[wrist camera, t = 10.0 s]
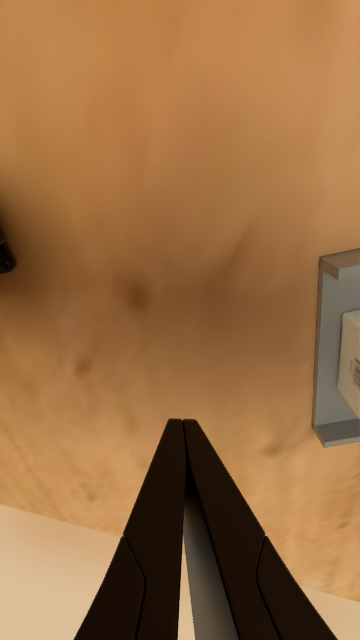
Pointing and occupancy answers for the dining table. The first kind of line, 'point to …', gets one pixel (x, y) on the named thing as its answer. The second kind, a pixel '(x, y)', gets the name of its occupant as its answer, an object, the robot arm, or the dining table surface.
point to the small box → (350, 360)
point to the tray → (334, 348)
